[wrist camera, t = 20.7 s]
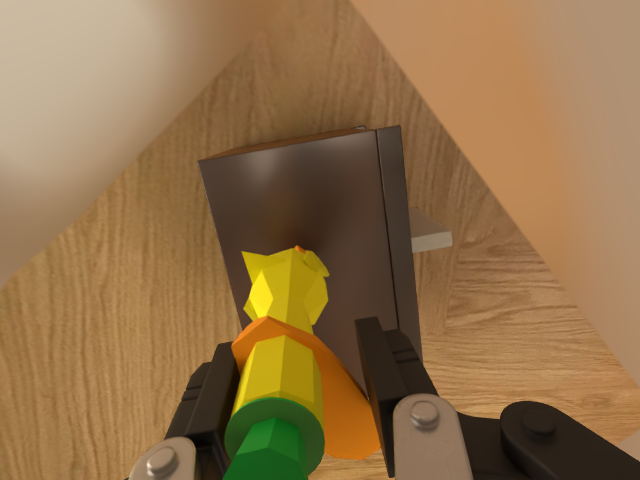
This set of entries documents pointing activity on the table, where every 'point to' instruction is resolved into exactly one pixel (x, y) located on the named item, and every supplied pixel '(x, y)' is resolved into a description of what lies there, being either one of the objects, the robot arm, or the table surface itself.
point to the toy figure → (291, 378)
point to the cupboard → (323, 225)
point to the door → (427, 232)
